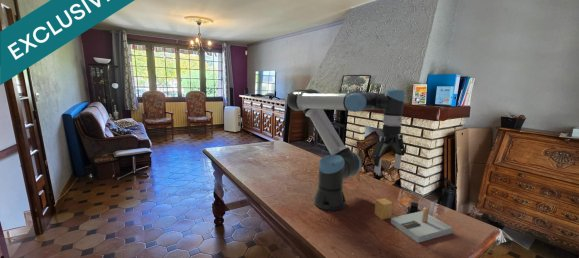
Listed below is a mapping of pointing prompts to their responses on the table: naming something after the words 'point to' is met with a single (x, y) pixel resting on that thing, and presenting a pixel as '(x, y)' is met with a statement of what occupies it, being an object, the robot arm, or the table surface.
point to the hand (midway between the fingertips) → (387, 170)
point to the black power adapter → (413, 208)
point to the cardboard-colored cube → (383, 208)
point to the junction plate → (421, 225)
